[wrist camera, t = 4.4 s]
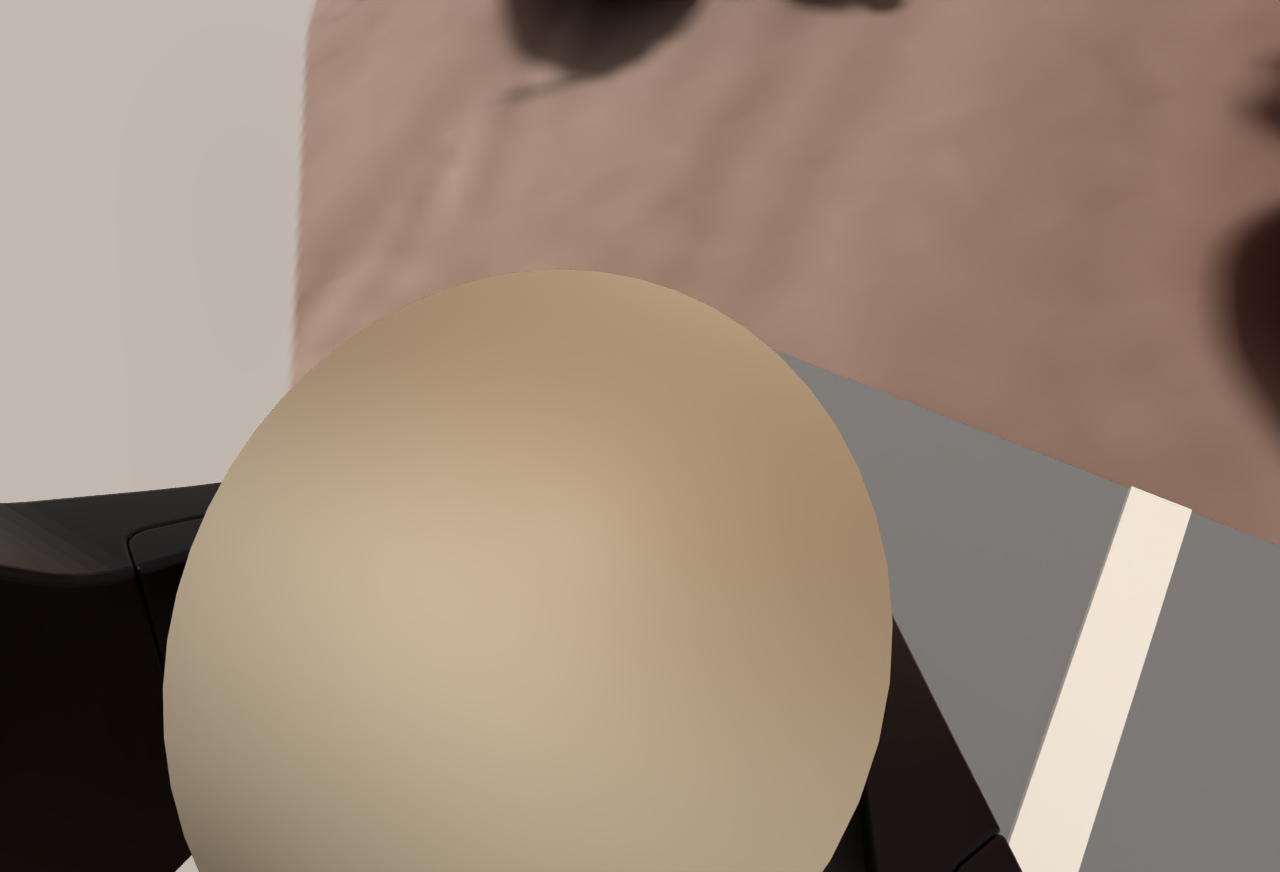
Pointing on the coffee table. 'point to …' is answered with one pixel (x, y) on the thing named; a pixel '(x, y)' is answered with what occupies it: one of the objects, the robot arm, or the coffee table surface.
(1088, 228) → the coffee table surface
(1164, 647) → the mat
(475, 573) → the birch pin
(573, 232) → the coffee table surface
